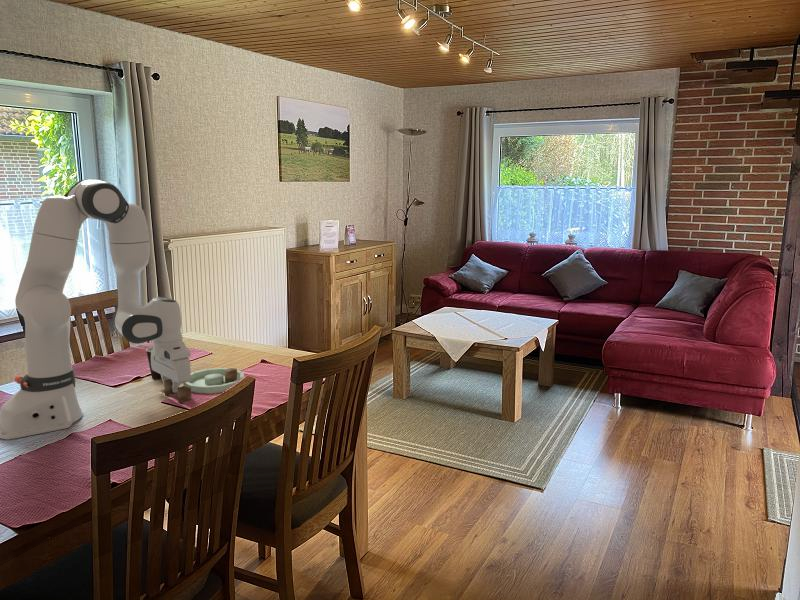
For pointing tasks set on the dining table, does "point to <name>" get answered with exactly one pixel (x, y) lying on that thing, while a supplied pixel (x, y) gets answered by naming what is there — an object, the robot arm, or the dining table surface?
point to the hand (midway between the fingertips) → (171, 389)
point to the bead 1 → (168, 387)
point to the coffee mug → (153, 373)
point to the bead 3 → (230, 375)
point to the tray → (210, 389)
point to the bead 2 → (184, 394)
